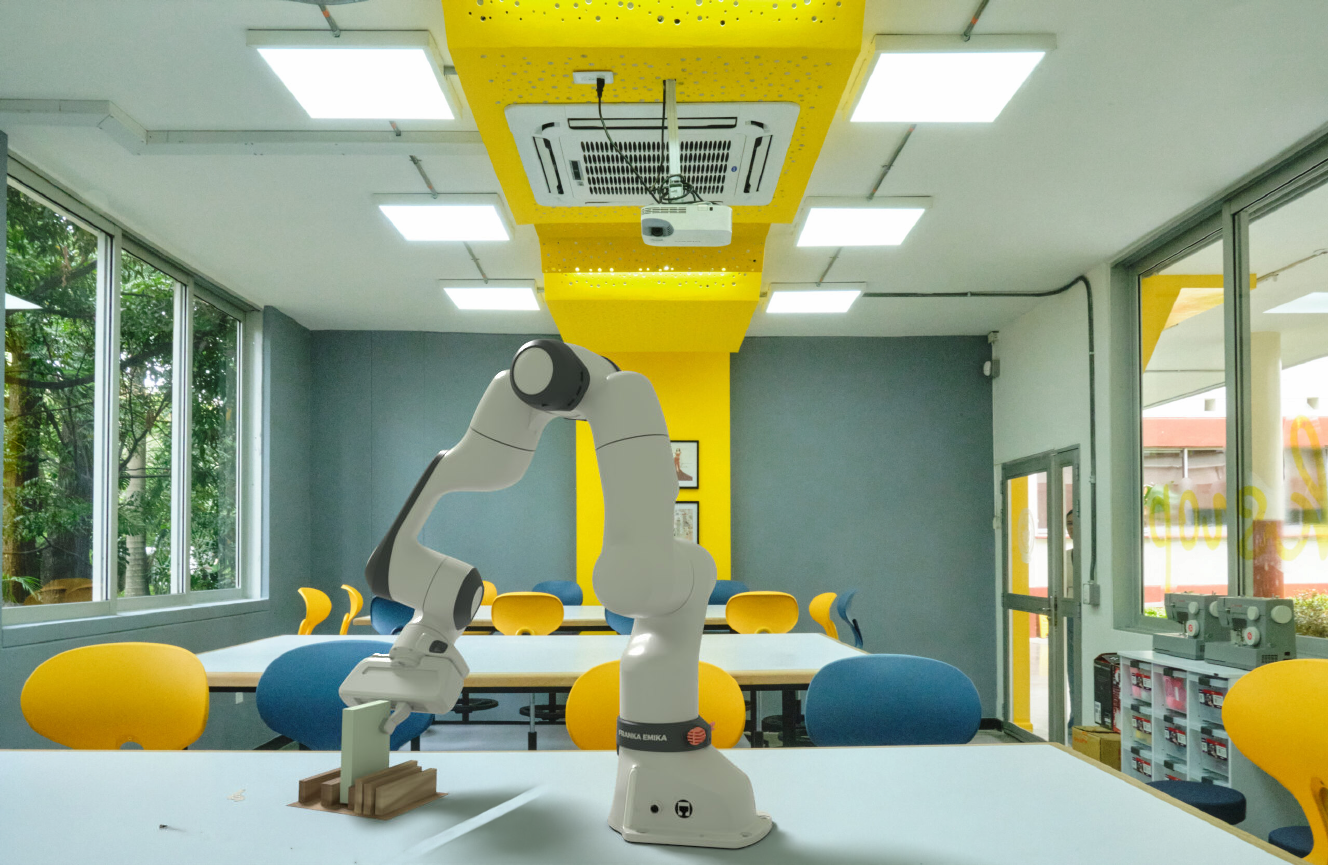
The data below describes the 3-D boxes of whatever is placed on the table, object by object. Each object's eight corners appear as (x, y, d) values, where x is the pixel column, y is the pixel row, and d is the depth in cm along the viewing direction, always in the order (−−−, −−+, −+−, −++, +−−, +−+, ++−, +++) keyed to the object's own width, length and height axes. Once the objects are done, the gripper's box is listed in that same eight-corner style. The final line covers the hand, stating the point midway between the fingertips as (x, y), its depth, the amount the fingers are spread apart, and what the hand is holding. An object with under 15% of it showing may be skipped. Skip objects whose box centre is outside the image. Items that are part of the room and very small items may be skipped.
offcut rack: (449, 801, 137) (450, 762, 138) (385, 829, 124) (387, 785, 125) (354, 789, 144) (355, 751, 145) (285, 813, 131) (287, 772, 132)
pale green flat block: (388, 789, 138) (390, 700, 139) (350, 803, 131) (353, 709, 132) (377, 788, 139) (380, 699, 140) (339, 802, 131) (342, 709, 133)
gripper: (358, 641, 150) (311, 713, 140) (462, 646, 142) (420, 723, 132) (376, 665, 153) (331, 737, 143) (478, 671, 145) (439, 748, 135)
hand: (375, 730), depth 137 cm, fingers closed on pale green flat block, 2 cm apart
